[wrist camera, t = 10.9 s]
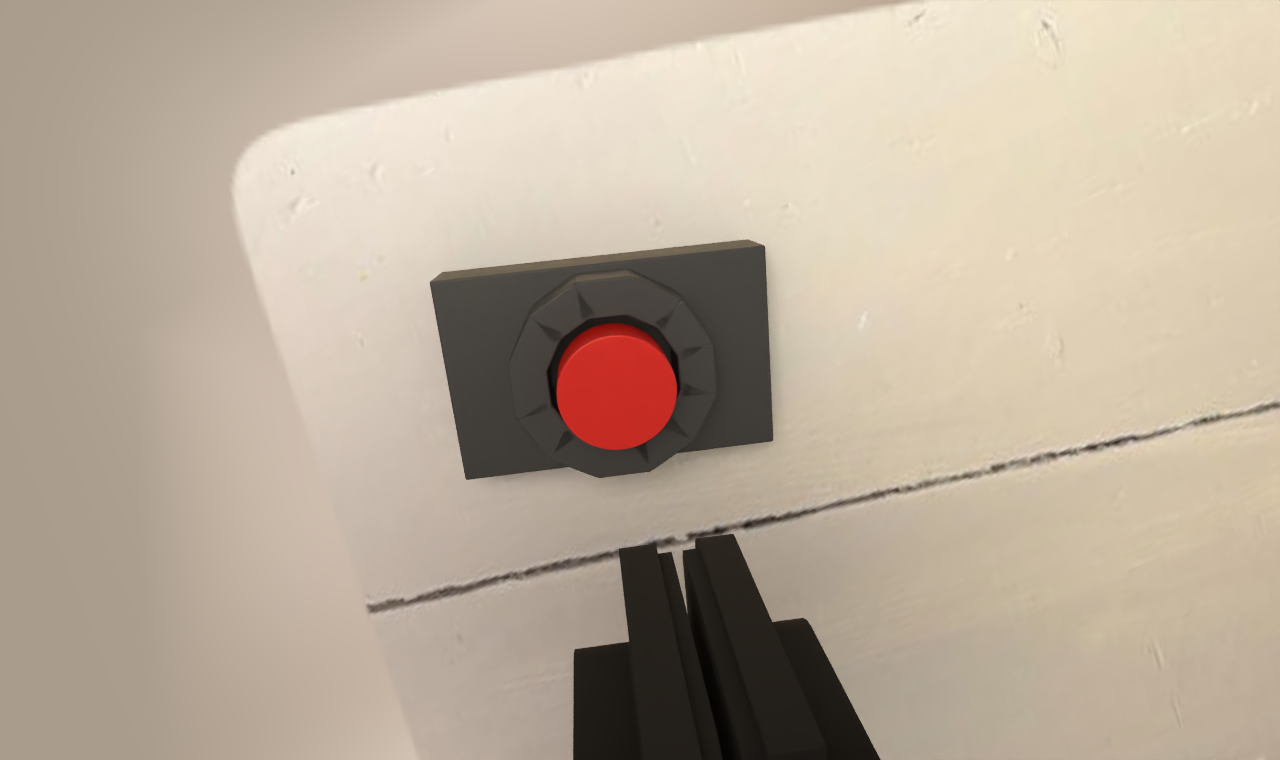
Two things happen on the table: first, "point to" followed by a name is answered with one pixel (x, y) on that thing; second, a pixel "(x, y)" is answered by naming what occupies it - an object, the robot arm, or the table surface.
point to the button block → (587, 297)
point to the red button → (615, 387)
